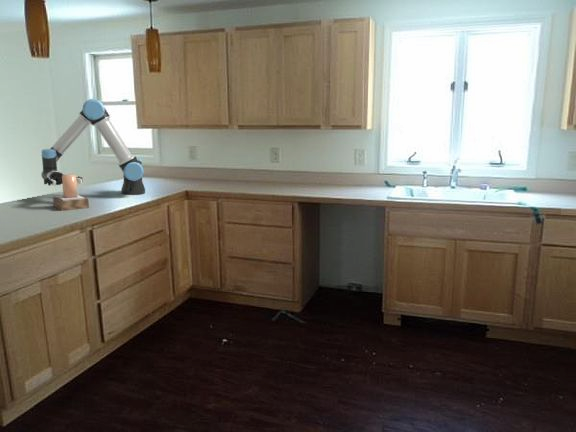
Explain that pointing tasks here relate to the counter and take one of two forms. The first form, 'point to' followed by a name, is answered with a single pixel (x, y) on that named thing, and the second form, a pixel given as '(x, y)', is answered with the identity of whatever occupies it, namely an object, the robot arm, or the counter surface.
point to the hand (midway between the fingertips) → (68, 182)
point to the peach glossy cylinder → (69, 186)
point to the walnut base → (70, 203)
